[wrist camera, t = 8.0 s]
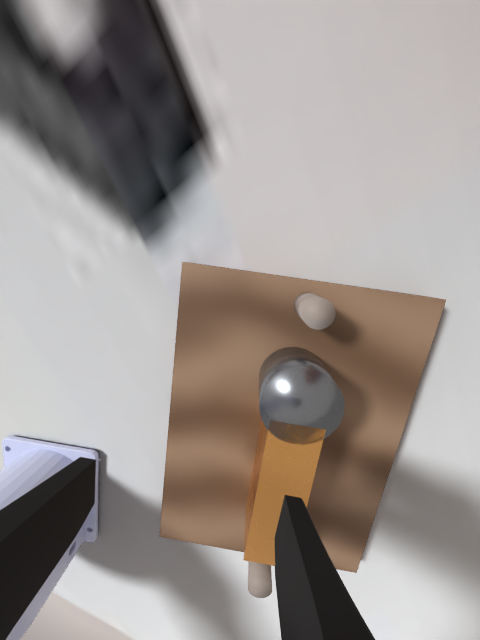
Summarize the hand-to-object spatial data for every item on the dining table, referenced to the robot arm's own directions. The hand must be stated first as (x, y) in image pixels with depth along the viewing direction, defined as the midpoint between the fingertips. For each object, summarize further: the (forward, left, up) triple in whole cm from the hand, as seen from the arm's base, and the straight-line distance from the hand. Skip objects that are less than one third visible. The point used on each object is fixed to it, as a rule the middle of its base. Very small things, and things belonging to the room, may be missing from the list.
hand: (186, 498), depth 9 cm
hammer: (-3, -5, -8) cm, 10 cm away
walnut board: (-3, -5, -9) cm, 11 cm away
